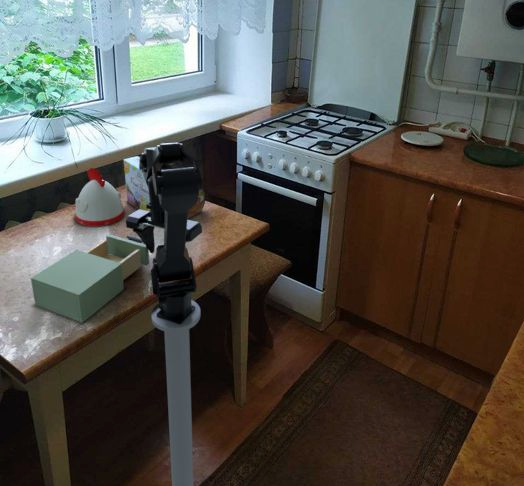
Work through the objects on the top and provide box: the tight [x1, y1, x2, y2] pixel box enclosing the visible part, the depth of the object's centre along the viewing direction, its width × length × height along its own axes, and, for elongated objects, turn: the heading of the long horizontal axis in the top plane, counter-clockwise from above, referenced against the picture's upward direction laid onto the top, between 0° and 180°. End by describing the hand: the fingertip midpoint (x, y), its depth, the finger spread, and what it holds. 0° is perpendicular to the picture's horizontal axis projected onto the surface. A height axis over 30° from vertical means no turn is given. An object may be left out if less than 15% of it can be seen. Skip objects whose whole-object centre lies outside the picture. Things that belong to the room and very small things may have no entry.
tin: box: [188, 189, 206, 219], centre depth 151 cm, size 15×3×8 cm, turn 145°
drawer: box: [85, 233, 150, 281], centre depth 124 cm, size 17×12×5 cm
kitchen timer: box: [75, 167, 125, 227], centre depth 149 cm, size 14×14×15 cm
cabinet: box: [30, 249, 125, 323], centre depth 112 cm, size 14×14×7 cm
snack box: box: [123, 155, 150, 212], centre depth 152 cm, size 21×6×15 cm, turn 42°
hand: (165, 255), depth 123 cm, fingers open, 7 cm apart
